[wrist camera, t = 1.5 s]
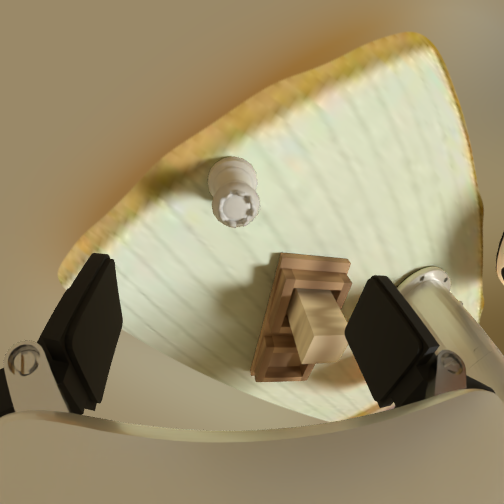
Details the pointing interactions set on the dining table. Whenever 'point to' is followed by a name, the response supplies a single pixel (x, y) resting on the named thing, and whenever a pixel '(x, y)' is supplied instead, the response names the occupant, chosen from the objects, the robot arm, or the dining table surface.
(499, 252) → the milk container
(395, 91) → the dining table surface
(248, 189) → the rook chess piece
